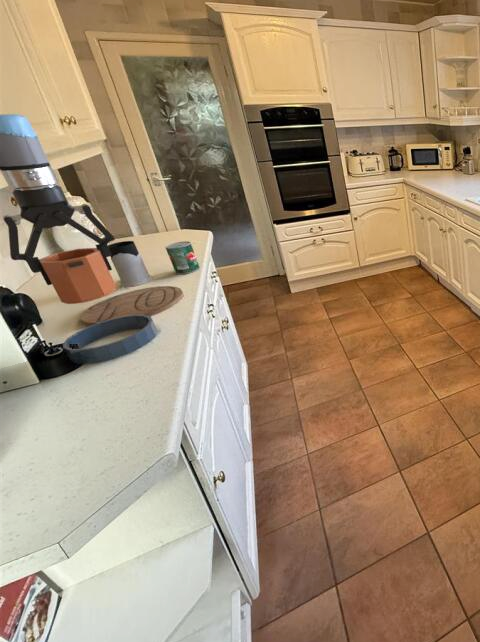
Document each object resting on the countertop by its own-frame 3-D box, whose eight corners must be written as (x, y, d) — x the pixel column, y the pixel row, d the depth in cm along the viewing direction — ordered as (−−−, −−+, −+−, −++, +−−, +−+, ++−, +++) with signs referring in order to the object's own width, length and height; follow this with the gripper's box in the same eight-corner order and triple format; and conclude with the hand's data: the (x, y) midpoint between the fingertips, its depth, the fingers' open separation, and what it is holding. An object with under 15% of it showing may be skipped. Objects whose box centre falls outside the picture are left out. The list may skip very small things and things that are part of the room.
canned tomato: (173, 271, 156) (162, 245, 152) (197, 265, 162) (187, 239, 157) (178, 276, 152) (167, 249, 147) (202, 269, 157) (193, 243, 153)
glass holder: (118, 288, 142) (100, 250, 136) (129, 275, 154) (112, 239, 148) (149, 283, 146) (132, 245, 140) (157, 270, 158) (142, 234, 151)
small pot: (122, 294, 100) (103, 254, 96) (66, 310, 93) (43, 267, 89) (110, 281, 108) (92, 244, 103) (58, 295, 101) (36, 255, 96)
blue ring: (54, 373, 98) (43, 354, 96) (103, 335, 113) (95, 319, 111) (135, 362, 101) (126, 344, 99) (172, 327, 117) (165, 311, 114)
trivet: (77, 338, 112) (73, 332, 112) (88, 306, 130) (85, 301, 129) (185, 309, 127) (183, 304, 126) (182, 284, 145) (181, 279, 144)
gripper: (-46, 198, 79) (12, 296, 88) (106, 180, 96) (142, 265, 104) (-46, 194, 83) (10, 288, 92) (100, 177, 100) (135, 259, 109)
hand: (80, 276), depth 98 cm, fingers closed on small pot, 10 cm apart
